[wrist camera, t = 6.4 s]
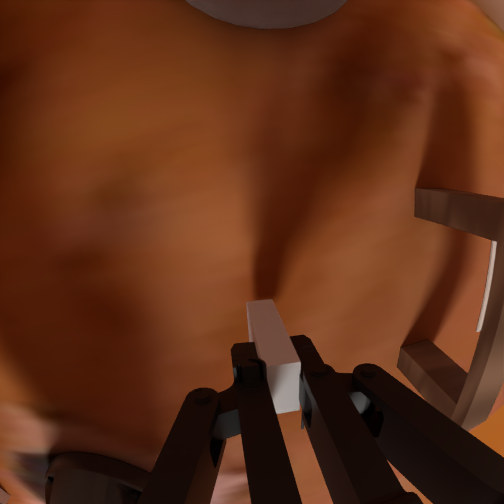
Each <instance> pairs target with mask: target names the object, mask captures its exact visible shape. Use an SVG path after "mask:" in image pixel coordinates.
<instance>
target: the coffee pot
mask: <svg viewBox="0 0 504 504" xmlns="http://www.w3.org/2000/svg"><path fill="white" fill-rule="evenodd" d="M186 1H187V2H188V3H189V4H190V5H191V6H193V7H195V8H197V9H199V10H201V11H202V12H204V13H206V14H208V15H210V16H211V17H213V18H215V19H218V20H221V21H225V22H228V23H231V24H234V25H237V26H243V27H251V28H258V29H284V28H293V27H297V26H301V25H306V24H311V23H315V22H317V21H319V20H321V19H323V18H325V17H327V16H329V15H332V14H334V13H335V12H337V11H338V10H339V9H340V8H341V7H342V6H343V5H344V4H345V3H346V2H347V1H348V0H186Z"/></svg>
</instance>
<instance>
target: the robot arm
mask: <svg viewBox="0 0 504 504" xmlns="http://www.w3.org/2000/svg"><path fill="white" fill-rule="evenodd" d="M246 304H247V318H248V331H249V342H246V343H236V344H234V345H233V347H232V348H231V356H232V365H233V374H234V383H233V385H232V386H231V387H230V388H228V389H227V390H225V391H222V392H219V393H217V391H215V390H213V389H211V388H198V389H194V390H193V391H191V392H189V394H188V395H187V396H186V398H185V400H184V402H183V405H182V407H181V409H180V411H179V413H178V416H177V418H176V420H175V422H174V424H173V426H172V429H171V431H170V433H169V435H168V437H167V439H166V442H165V444H164V446H163V448H162V450H161V453H160V455H159V457H158V459H157V461H156V463H155V466H154V468H153V470H152V472H151V474H149V473H147V472H145V471H143V470H141V469H138V468H136V467H134V466H131V465H129V464H126V463H123V462H120V461H117V460H114V459H111V458H107V457H103V456H99V455H94V454H88V453H79V452H69V453H63V454H59V455H57V456H55V457H54V458H53V459H52V460H51V462H50V465H49V467H48V470H47V472H46V475H45V501H46V504H210V501H211V498H212V494H213V490H214V487H215V483H216V479H217V476H218V472H219V468H220V464H221V460H222V457H223V453H224V449H225V445H226V439H227V438H230V437H233V436H235V435H238V434H241V437H242V445H243V452H244V459H245V465H246V472H247V479H248V485H249V492H250V498H251V504H302V501H301V498H300V494H299V491H298V488H297V484H296V481H295V477H294V474H293V470H292V467H291V464H290V460H289V457H288V453H287V450H286V446H285V443H284V439H283V435H282V432H281V428H280V425H279V421H278V418H277V414H278V413H284V412H291V411H297V410H299V403H300V404H301V407H302V420H301V429H304V425H305V427H306V430H307V433H308V436H309V438H310V441H311V444H312V447H313V449H314V452H315V455H316V458H317V460H318V463H319V466H320V469H321V471H322V474H323V477H324V479H325V482H326V485H327V488H328V490H329V493H330V496H331V498H332V501H333V504H423V503H422V501H421V499H420V498H419V497H418V495H417V494H415V493H414V492H406V491H405V490H404V489H403V488H402V486H401V484H400V482H399V481H398V479H397V477H396V475H395V474H394V472H393V470H392V468H391V467H390V465H389V463H388V461H389V462H390V463H391V464H392V465H393V466H394V467H395V468H396V469H397V470H398V471H399V472H400V473H401V474H402V475H403V476H404V477H405V478H406V479H407V480H408V481H409V482H411V483H412V484H413V485H414V486H415V487H416V488H417V489H418V490H419V491H420V492H421V493H422V494H423V495H424V496H425V497H426V498H428V499H429V500H430V501H431V502H432V503H433V504H504V457H502V456H501V455H499V454H498V453H496V452H495V451H494V450H492V449H491V448H490V447H488V446H487V445H485V444H484V443H482V442H481V441H480V440H479V439H477V438H476V437H474V436H473V435H472V434H470V433H469V432H467V431H466V430H465V429H463V428H462V427H461V426H459V425H458V424H456V423H455V422H454V421H452V420H451V419H450V418H448V417H447V416H445V415H444V414H443V413H441V412H440V411H439V410H437V409H436V408H435V407H433V406H432V405H430V404H429V403H428V402H426V401H425V400H424V399H422V398H421V397H420V396H418V395H417V394H416V393H414V392H413V391H412V390H410V389H409V388H407V387H406V386H405V385H403V384H402V383H401V382H399V381H398V380H397V379H395V378H394V377H393V376H391V375H390V374H389V373H387V372H386V371H385V370H383V369H382V368H381V367H379V366H377V365H375V364H370V363H364V364H360V365H358V366H356V367H355V368H354V370H353V373H337V372H335V370H334V369H333V368H332V367H331V366H329V365H327V364H324V362H323V360H322V359H321V357H320V355H319V353H318V352H317V350H316V348H315V346H314V345H313V343H312V341H311V339H310V338H308V337H306V336H305V335H298V336H290V337H289V335H288V333H287V331H286V328H285V326H284V324H283V322H282V320H281V318H280V315H279V313H278V311H277V309H276V307H275V304H274V302H273V300H272V299H268V300H258V301H248V302H246ZM386 459H387V460H388V461H387V460H386ZM0 504H1V503H0Z"/></svg>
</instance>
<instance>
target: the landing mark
mask: <svg viewBox="0 0 504 504" xmlns="http://www.w3.org/2000/svg"><path fill="white" fill-rule="evenodd" d="M496 245H497V242H495V241H492V245H491V253H490V261H489V268H488V275H487V281H486V287H485V292H484V298H483V303H482V307H481V312H480V317H479V321H478V325H477V329H476V331H477V332H479V331H481V328H482V324H483V320H484V316H485V311H486V307H487V302H488V297H489V292H490V286H491V280H492V274H493V268H494V261H495V253H496Z"/></svg>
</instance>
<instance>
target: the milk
mask: <svg viewBox="0 0 504 504" xmlns="http://www.w3.org/2000/svg"><path fill="white" fill-rule="evenodd" d="M9 498H10V495H8V494H7V493H6V492H5V491H3V490H2V489H1V488H0V503H1V504H7V502H8V500H9Z"/></svg>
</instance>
